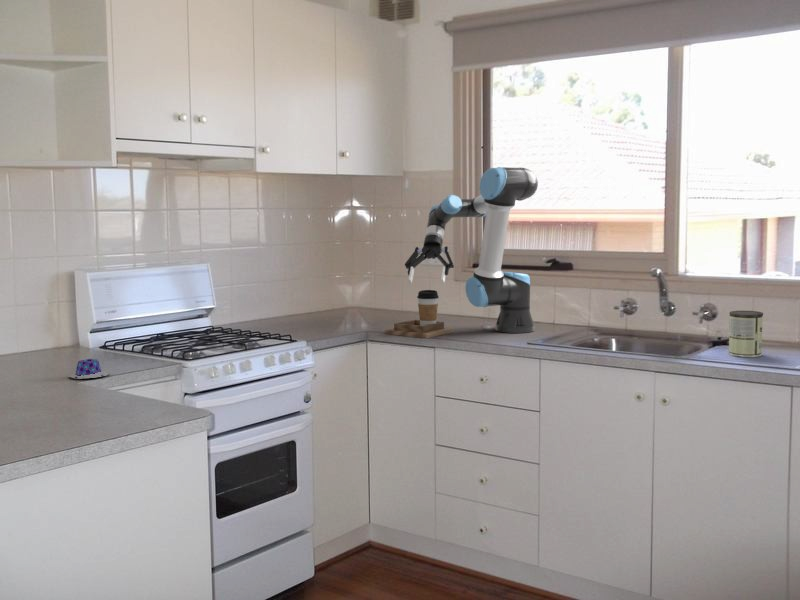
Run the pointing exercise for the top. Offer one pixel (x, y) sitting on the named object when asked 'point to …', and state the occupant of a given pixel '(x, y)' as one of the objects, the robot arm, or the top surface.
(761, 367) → the top surface
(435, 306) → the coffee cup
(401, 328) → the cup rack
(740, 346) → the coffee can
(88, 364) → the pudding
